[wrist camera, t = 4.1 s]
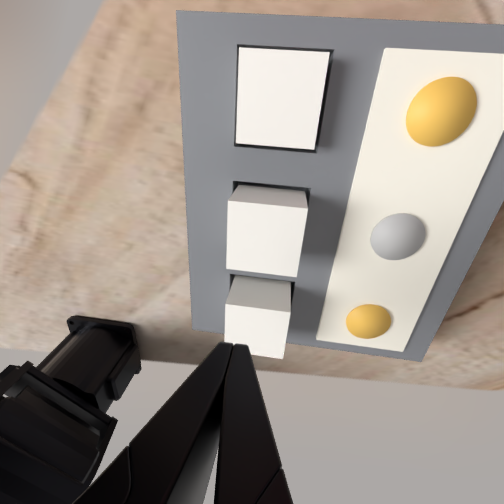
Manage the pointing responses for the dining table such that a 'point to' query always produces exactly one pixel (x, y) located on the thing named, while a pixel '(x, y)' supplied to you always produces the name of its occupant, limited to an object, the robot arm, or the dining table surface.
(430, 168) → the button panel
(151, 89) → the dining table surface
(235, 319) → the button
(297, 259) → the middle button
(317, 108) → the button
